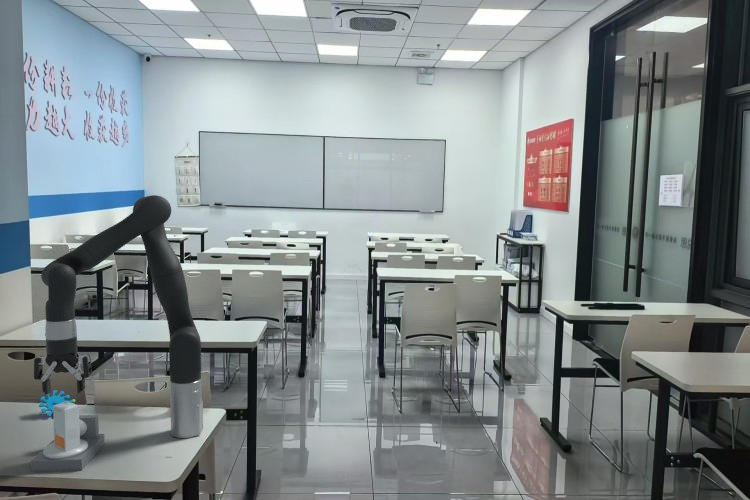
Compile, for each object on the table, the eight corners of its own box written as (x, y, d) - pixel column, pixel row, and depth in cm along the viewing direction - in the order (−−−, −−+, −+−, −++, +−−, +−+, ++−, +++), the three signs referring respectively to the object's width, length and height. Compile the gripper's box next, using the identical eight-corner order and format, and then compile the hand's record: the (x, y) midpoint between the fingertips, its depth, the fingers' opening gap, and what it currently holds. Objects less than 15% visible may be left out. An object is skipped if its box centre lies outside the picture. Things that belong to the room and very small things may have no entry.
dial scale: (104, 443, 172) (103, 414, 171) (82, 470, 155) (81, 438, 154) (59, 444, 171) (58, 415, 170) (31, 471, 154) (30, 439, 153)
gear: (40, 417, 187) (38, 389, 193) (36, 425, 191) (35, 398, 196) (77, 413, 195) (74, 387, 200) (72, 422, 198) (70, 396, 203)
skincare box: (53, 446, 160) (52, 405, 159) (68, 441, 164) (67, 400, 163) (65, 452, 157) (64, 409, 156) (80, 446, 160) (79, 405, 159)
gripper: (93, 331, 162) (96, 387, 163) (40, 333, 160) (43, 389, 161) (83, 338, 154) (85, 396, 156) (27, 339, 153) (30, 398, 154)
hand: (64, 393), depth 159 cm, fingers open, 8 cm apart
